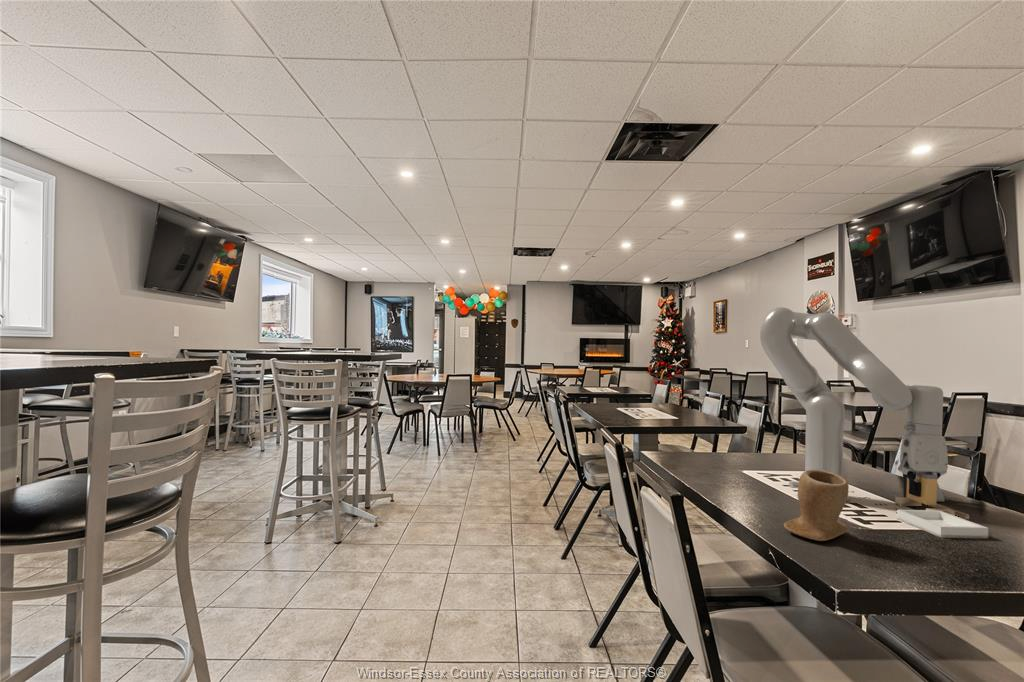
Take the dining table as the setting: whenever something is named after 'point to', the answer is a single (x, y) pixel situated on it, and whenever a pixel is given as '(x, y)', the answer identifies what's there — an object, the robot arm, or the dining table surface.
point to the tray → (942, 524)
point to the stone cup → (820, 505)
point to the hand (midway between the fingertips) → (921, 494)
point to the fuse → (925, 489)
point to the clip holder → (909, 502)
